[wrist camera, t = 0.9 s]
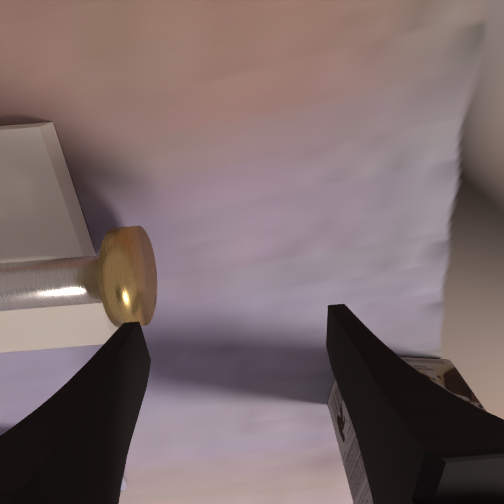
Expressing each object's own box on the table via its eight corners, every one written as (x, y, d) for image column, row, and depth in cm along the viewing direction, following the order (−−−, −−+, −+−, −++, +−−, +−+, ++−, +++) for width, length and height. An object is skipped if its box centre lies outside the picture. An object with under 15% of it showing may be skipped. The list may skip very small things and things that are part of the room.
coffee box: (452, 356, 28) (671, 657, 14) (424, 409, 31) (581, 700, 17) (341, 350, 27) (456, 665, 13) (324, 405, 30) (402, 708, 16)
